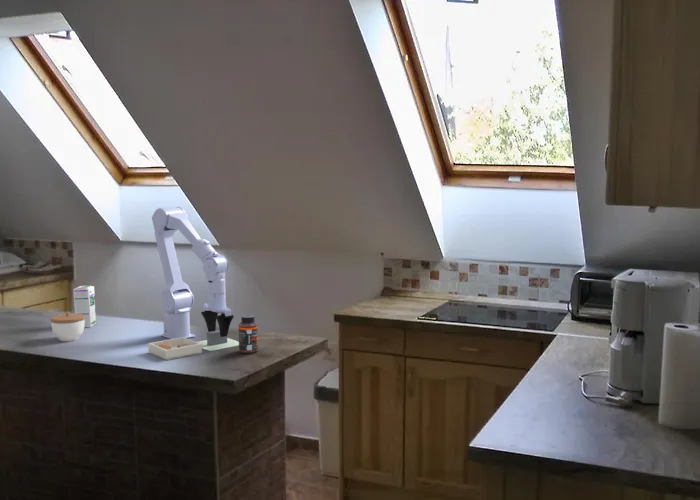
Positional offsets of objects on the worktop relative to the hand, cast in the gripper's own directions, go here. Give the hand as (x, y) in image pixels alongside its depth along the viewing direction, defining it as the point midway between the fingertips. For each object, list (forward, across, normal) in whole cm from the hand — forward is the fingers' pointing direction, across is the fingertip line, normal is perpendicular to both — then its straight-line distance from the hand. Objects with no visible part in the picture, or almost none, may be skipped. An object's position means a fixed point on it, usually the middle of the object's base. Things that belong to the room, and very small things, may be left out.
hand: (217, 334), depth 235 cm
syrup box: (+4, -56, -22) cm, 60 cm away
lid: (+4, 0, 0) cm, 4 cm away
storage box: (+3, +1, -16) cm, 16 cm away
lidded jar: (+3, -40, -34) cm, 53 cm away
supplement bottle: (+3, +15, +2) cm, 16 cm away
